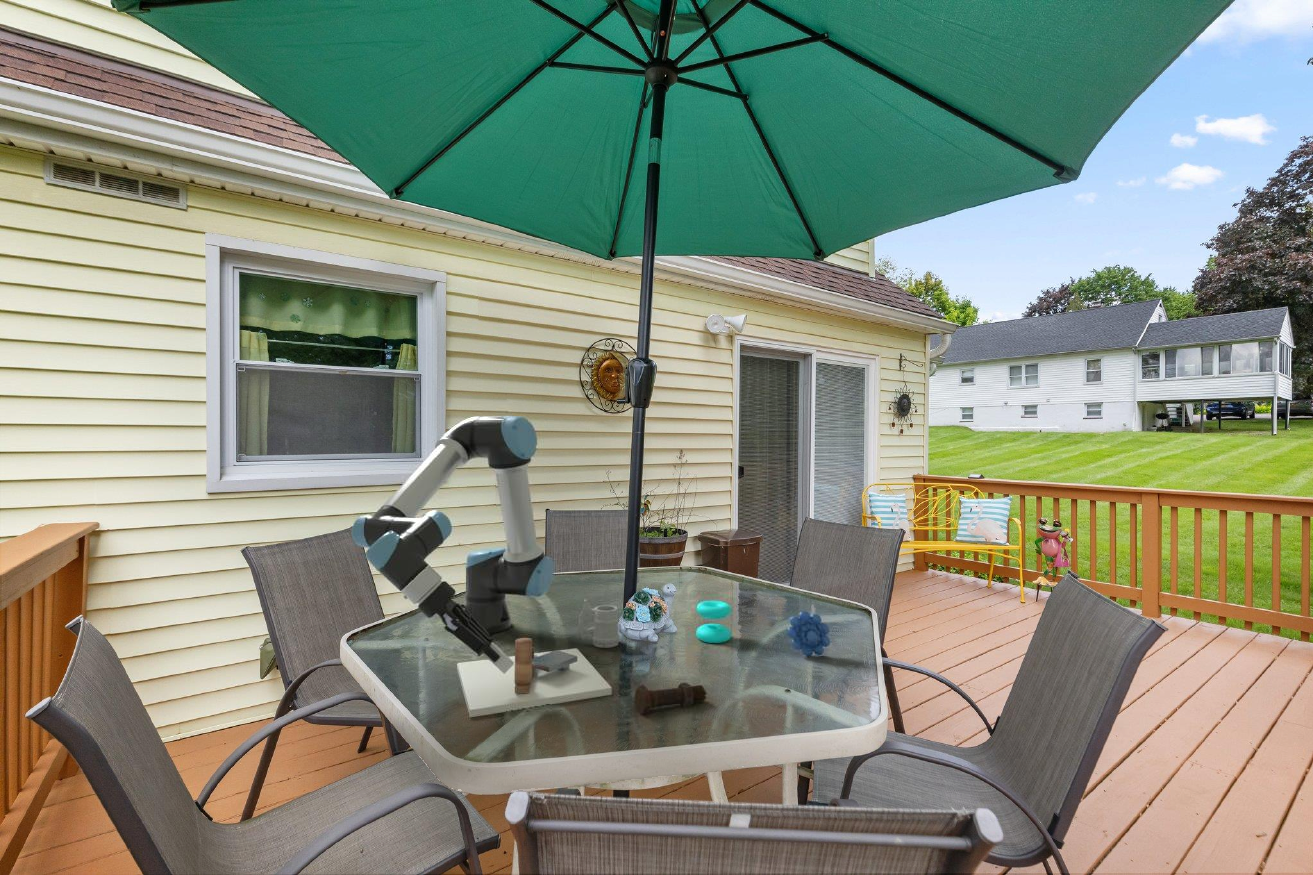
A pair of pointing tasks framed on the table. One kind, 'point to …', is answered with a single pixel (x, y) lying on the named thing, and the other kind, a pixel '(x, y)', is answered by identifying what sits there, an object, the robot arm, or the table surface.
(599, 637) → the mug
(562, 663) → the block
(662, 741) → the table surface
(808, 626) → the blue knobby flower
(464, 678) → the base plate
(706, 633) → the donuts
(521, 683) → the link
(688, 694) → the bolt
